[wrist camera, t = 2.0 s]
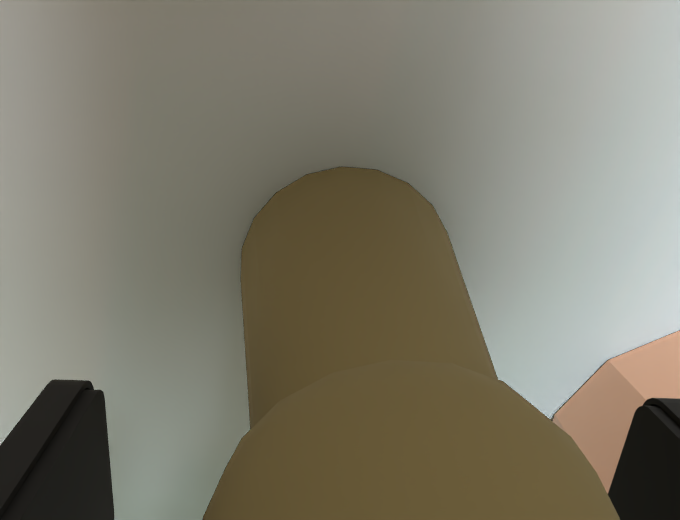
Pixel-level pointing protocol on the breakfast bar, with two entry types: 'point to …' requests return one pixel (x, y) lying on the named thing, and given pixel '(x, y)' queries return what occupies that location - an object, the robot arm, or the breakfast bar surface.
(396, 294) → the cork
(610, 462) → the pink faceted round bowl
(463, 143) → the breakfast bar surface
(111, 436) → the breakfast bar surface
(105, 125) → the breakfast bar surface
